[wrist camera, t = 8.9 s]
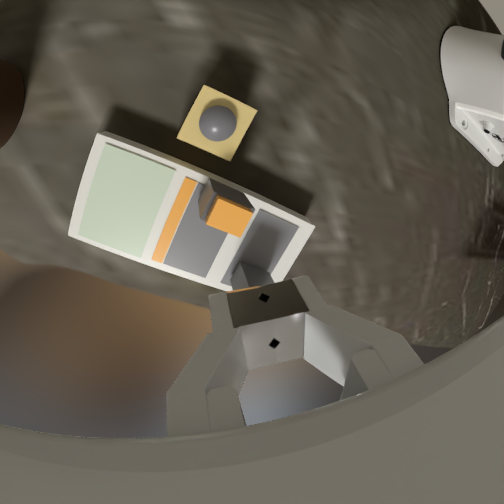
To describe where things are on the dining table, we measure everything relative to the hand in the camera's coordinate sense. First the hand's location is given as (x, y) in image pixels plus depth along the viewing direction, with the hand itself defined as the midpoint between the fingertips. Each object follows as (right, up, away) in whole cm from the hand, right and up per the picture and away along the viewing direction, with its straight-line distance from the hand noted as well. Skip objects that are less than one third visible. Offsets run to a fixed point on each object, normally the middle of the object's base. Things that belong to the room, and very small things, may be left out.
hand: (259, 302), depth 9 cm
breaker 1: (-3, +6, +13) cm, 15 cm away
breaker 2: (-1, 0, +17) cm, 17 cm away
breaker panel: (-6, +5, +16) cm, 18 cm away
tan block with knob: (-4, +12, +13) cm, 18 cm away
